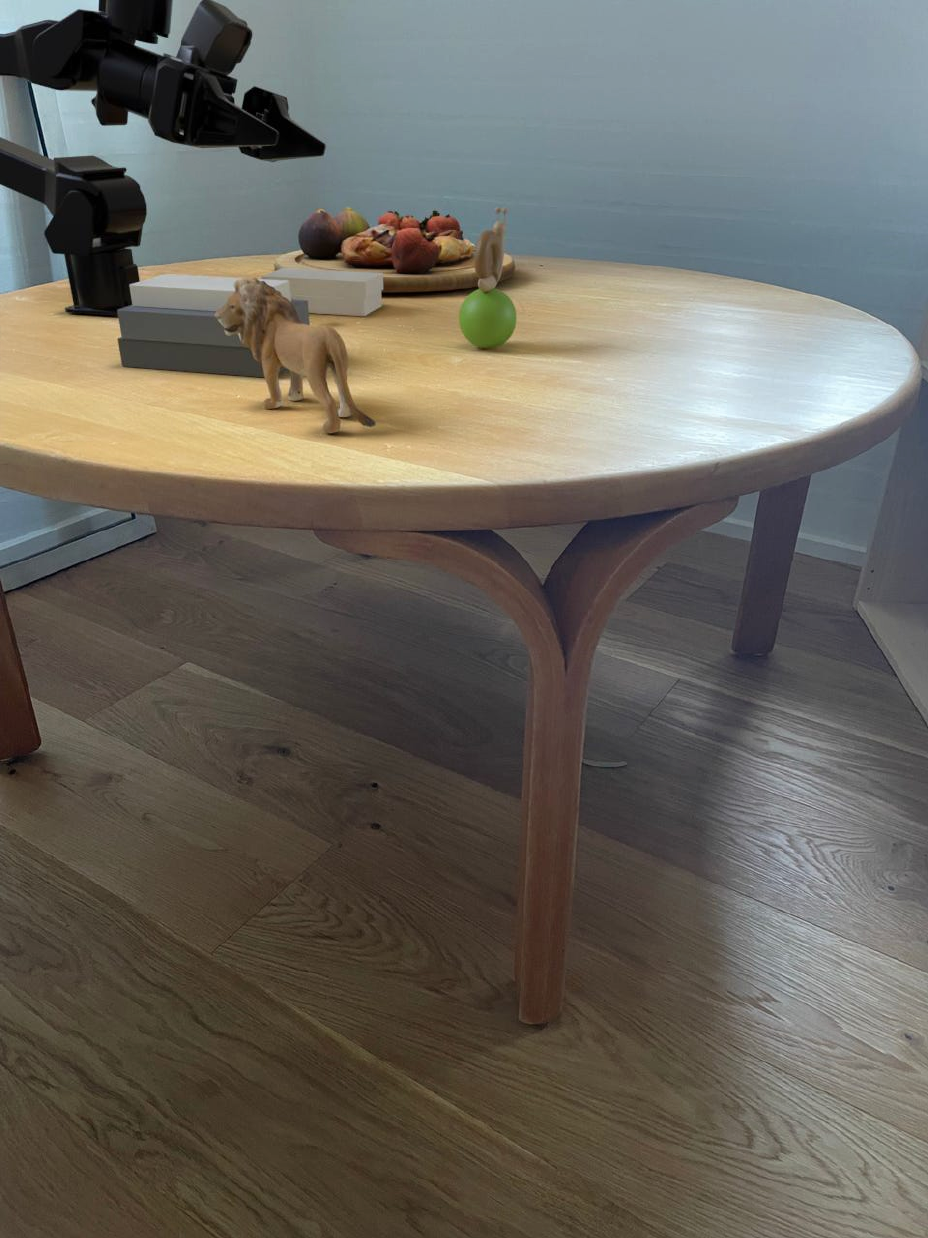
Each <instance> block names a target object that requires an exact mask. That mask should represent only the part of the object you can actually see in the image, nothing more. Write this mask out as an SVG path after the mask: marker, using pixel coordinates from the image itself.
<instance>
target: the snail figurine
mask: <svg viewBox="0 0 928 1238" xmlns="http://www.w3.org/2000/svg"><path fill="white" fill-rule="evenodd" d="M508 211H509V210H508V208H507V207H505V206H504V207H502V209H501V207H500V206H496V207H495V208H494V212H495V213H496V214H497V217H496V221H495V223H493V225H492V230H491V229H487V230H484V231H483V232H481V234H480V235H479V237H478V238H477V240H476V245H475V247H476V249H475V257H474V264H475V271H476V274H477V276H478V278H479V281H478V289H476V290H474V291H472V292H471V293H469V294H468V295H467V296H466V297H465V298H464V300H463V302H462V304H461V305H460V309H459V311H458V324H459V328H460V332H461V333H462V335H463V337H464V338H465V339H466V340H467V341H468V342H469V343H470V344H471V345H473V346H475V347H477V348H480V349H495V348H498V347H500V346H502V345H504V344H505V343H506V342H507V341H508V340H509V339H511V337H512V335H513V333H514V331H515V330H516V326H517V319H518V318H517V317H518V315H517V310H516V306H515V304H514V303H513V301H512V299H511V298H510V297H509V296H508V295H507V294H506V292H504V291H502V290H501V289H498V288H496V286H497V284H498V283H499V282H498V280H499V279H500V276H501V271H502V265H503V259H504V253H505V249H506V248H505V247H506V240H505V239H506V233H507V225H506V214H507V213H508ZM500 213H502V214H503V221H502V220H499V214H500Z"/></svg>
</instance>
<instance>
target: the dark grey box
mask: <svg viewBox="0 0 928 1238" xmlns="http://www.w3.org/2000/svg"><path fill="white" fill-rule="evenodd" d="M291 304H292V305H293V307H294V308H295V310H296V312H297V314H298V318H299V320H300V321H301V322H302V323H304V324H307V325H309V326H311V325H310V313H309V310H308V300H293V299H291ZM117 313H118V315H117V318H118V324H119V330H120V337H117V345H118V351H119V357H120V363H121V367H125V368H137V369H152V370H163V371H164V370H165V371H177V372H189V373H202V374H213V375H215V374H216V375H229V376H241V377H254V378H264V379H265V377H264V372H263V366H262V363H261V362H258V361H257V360H256V359H254V356H253V353H252V351H251V349H249V348H248V347H246V346H245V345H243V344H242V342H241V340H240V338H239V335H238V333H236V334H234V335H231V336H228V335H226V333H225V330H224V326H223V325H222V324H221V323H220V322H219V321H218V319H217V318H216V317H215V313H216V312H212V311H196V310H180V309H165V308H149V307H134V306H133V305H130V306H127V307H124V308H121V309H118V310H117ZM285 370H287V368H285V367H280V370H279V374H280V373H282V372H284V371H285Z"/></svg>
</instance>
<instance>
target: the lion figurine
mask: <svg viewBox="0 0 928 1238" xmlns="http://www.w3.org/2000/svg"><path fill="white" fill-rule="evenodd" d="M242 278H243V279H241V280H236V281H235V284H233V285H234V288H235V293H234V294H232V295H231V296H230V297H229V298H228V300H227V303H226V304H225V305H224V306H223V307H222V308H221V309H219V310H218V311H217V312H216V313H215V317H216V318H217V319H218V321H219V322H220V323H221V324H222V325H223V326H224V330H225V333H226V335H228V336H231V335H234V334H236V333H238V335H239V338H240V340H241V342H242V344H243V345H245V346H246V347H248V348H249V349H251V351H252V353H253V356H254V359H256V360H257V361H258V362H261V363H262V366H263V372H264V377H265V378H264V377H263V378H264V380H265V383H266V385H267V388H268V392H269V398H266V399H264V400H263V402H262V406H263V408H264V409H267V410H270V409H277V408H280V407H282V404H283V395H282V390H281V387H280V380H279V374H280V373H279V370H280V367H285V368H287V369H288V373H289V381H290V384H289V389H288V393H287V395H286V397H287V400H288V401H292V402H295V401H296V402H297V401H301V400H303V399H304V386H303V384H304V383H303V376H304V377H305V376H306V378H307V382H308V384H309V387H310V389H311V391H312V393H313V395H314V396H315V398H316V399H317V401H318V402H319V404H320V405H321V406H322V408H323V410H324V412H325V413H326V415H327V420H326V421H325V422H324V423H323V424H322V431H323V432H324V433H325V434H334V433H337V432H338V431H340V429H341V419H340V418H348V417H351V416H352V414H353V416H354V417H355V418H356V420H357V421H358V422H359V423H360V424H361V425H362V426H363V427H369V428H374V427H375V426H376V421H375V420H373V418H371V417H369V416H368V415H366V414H365V413H363V412H362V411H361V410H359V408H358V407H357V406H356V403H355V402H354V400H353V397H352V393H351V391H350V387H349V384H348V367H349V355H348V349H347V347H346V344H345V341H344V339H343V337H342V336H341V335H340V333H339V332H338V331H337V330H336V329H335V328H334V327H332V326H328V325H323V324H318V325H310V326H309V325H307V324H304V323H302V322H301V321H300V320H299V318H298V314H297V312H296V310H295V308H294V307H293V305H292V304H291V302H290V301H289V300H288V299H287V298H285V297H283V296H282V293H281V292H280V291H277V290H276V289H275V288H274V287H272V286H269V285H268V284H267V283H266V282H264V281H259V280H258V279H259V278H254V277H242ZM287 369H286V370H287ZM328 369H329V370H330V373H331V376H332V378H333V381H334V383H335V386H336V388H337V391H338V401H339V406H338V407H337V403H336V401H335V399H334V397H333V396H332V394H331V392H330V390H329V386H328V382H327V375H328Z"/></svg>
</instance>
